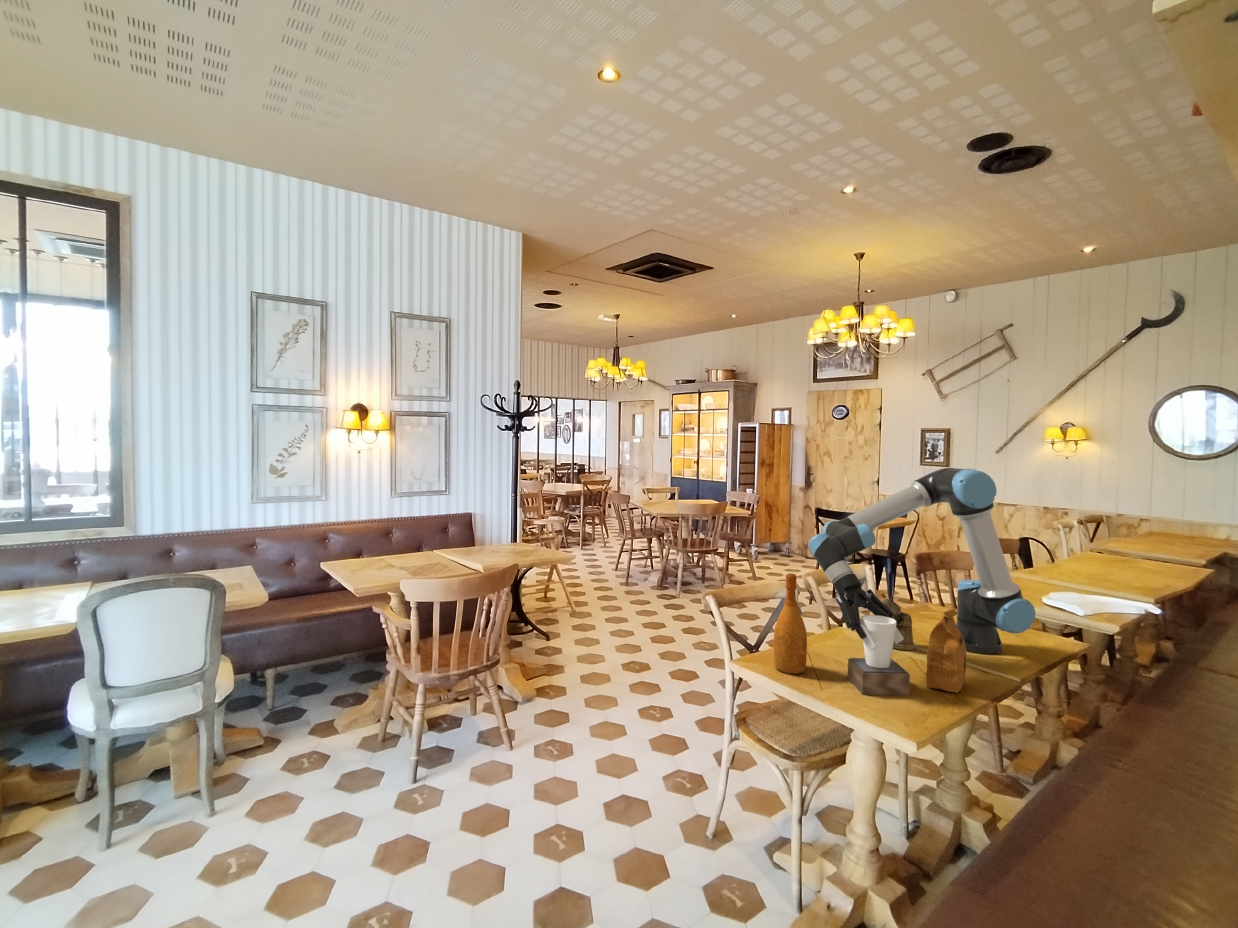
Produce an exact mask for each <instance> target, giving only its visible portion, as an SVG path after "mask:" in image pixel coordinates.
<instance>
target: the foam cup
mask: <svg viewBox="0 0 1238 928" xmlns="http://www.w3.org/2000/svg"><path fill="white" fill-rule="evenodd" d="M860 622H861V625H860V626H862V625H864V626H865V627H866V629H867V631H868V632H869V634H870V635H871V637H872V638H873V640H874V641H875V643H876V644H877V646H876V647H875V648H874V649H872V650H871V651H869V649H868V647H867V646H866V644H865V643H864V641H863V640H862V642H863V643H862V644H863V650H864V651H863V652H864V658H865V660H866V664H867V665H869V666H872V667H876V668H888V667H889V666H890V661H891V659H892V653H893V642H894V636H895V631H896V620H894V619H892V618H889V617H885V616H878V615H874V614H868V615H867V614H865V615H862V616H860Z"/></svg>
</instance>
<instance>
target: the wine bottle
mask: <svg viewBox="0 0 1238 928" xmlns="http://www.w3.org/2000/svg"><path fill="white" fill-rule="evenodd" d="M797 579H798V578H797V574H795V573H790V572H788V573H787V574H785V586H784V587H785V589H786V594H785V600H784V605H783V608H782V609H781V612H780V613H779V616H778V618H777V620H776V622H775V626H774V632H773V664H774V668H775V669H776V670H777V671H779V672H781V673H785V674H789V675H791V674H792V675H797V674H801V673H804V672H805V671H806V668H807V648H808V647H807V646H808V634H807V629H806V625H805V622H804V619H803V617H804V614H803V611H802V608H801V606H800V605H799V604H798V602H797V597H796V596H797V595H796V590H797V587H798V586H797ZM802 616H803V617H802Z"/></svg>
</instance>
